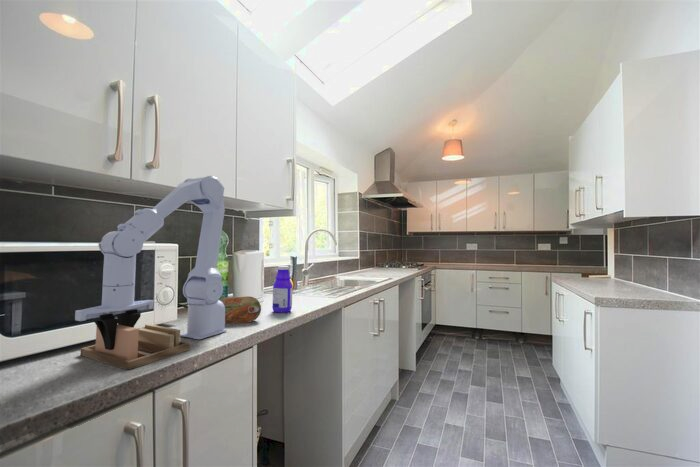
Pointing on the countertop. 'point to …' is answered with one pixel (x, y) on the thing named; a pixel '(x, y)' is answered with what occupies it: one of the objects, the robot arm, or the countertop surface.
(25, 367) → the countertop surface
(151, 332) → the offcuts
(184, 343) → the rack
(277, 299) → the bottle
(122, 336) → the block
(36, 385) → the countertop surface
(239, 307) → the tin
